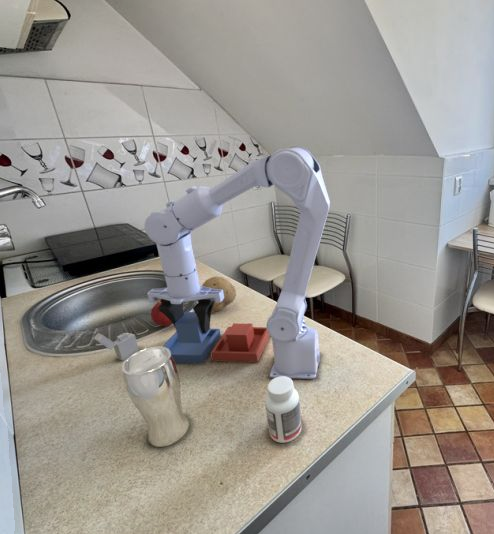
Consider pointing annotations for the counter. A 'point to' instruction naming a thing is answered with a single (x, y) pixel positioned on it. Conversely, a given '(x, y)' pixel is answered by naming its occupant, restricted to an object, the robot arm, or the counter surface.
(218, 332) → the blue tray
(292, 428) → the pill bottle
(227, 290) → the potato
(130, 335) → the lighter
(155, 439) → the beer glass
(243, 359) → the red tray
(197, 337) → the blue block
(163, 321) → the onion
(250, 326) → the red block
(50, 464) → the counter surface
